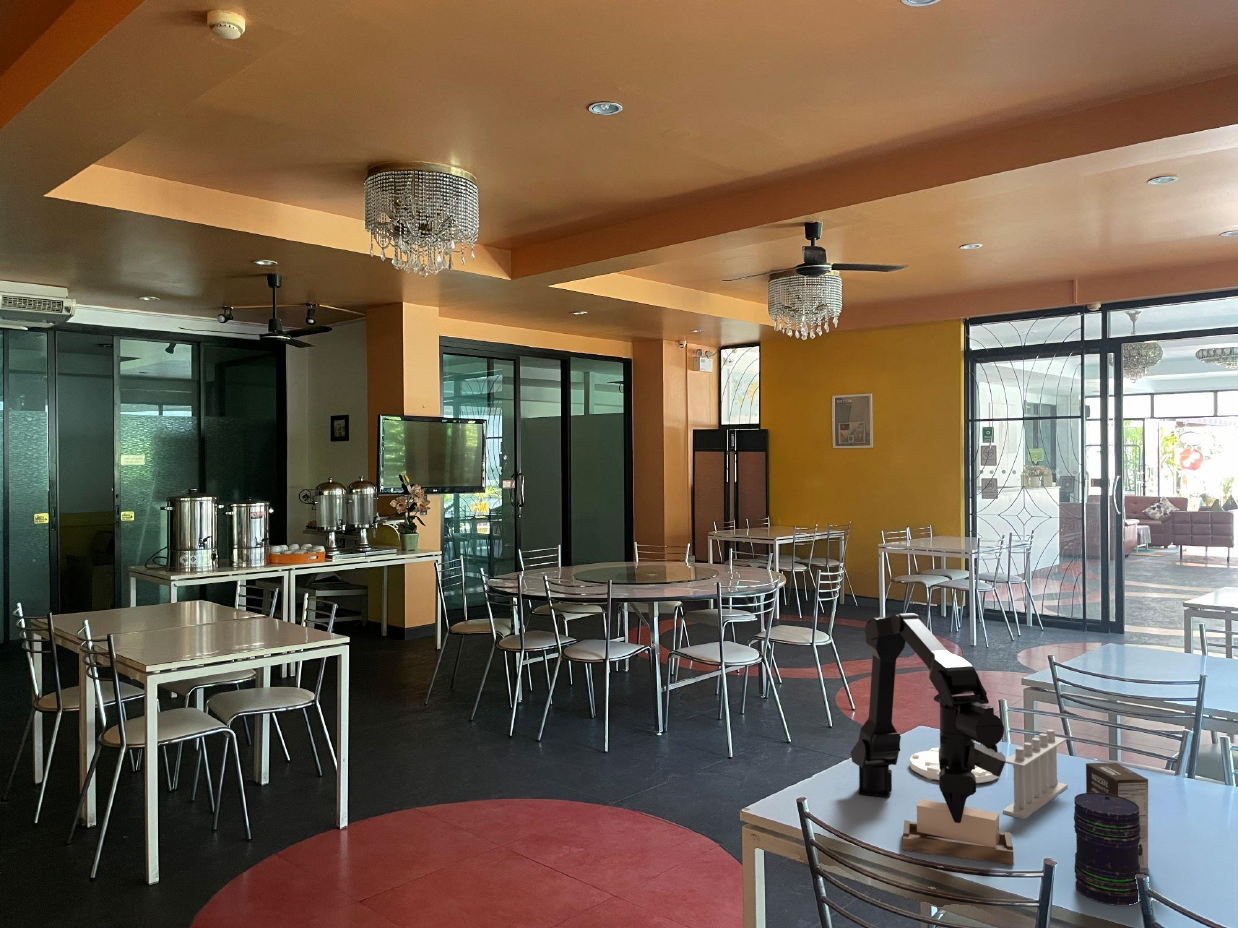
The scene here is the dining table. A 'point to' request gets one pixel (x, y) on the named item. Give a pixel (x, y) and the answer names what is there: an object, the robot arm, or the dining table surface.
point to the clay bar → (971, 829)
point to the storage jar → (1106, 848)
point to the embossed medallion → (930, 769)
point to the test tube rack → (1035, 774)
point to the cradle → (957, 846)
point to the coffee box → (1122, 794)
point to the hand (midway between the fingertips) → (956, 813)
